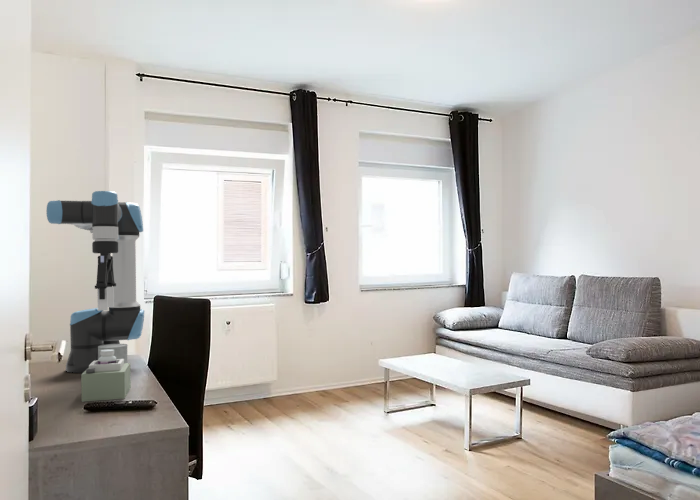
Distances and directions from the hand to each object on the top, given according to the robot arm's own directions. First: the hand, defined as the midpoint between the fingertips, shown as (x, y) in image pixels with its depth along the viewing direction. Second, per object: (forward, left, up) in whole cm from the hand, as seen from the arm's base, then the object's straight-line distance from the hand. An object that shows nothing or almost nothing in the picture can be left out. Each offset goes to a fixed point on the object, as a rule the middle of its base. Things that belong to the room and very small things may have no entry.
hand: (106, 308), depth 182 cm
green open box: (0, 0, -27) cm, 27 cm away
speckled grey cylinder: (-21, -1, -27) cm, 34 cm away
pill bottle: (0, 0, -23) cm, 23 cm away
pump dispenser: (-73, -10, -27) cm, 78 cm away
